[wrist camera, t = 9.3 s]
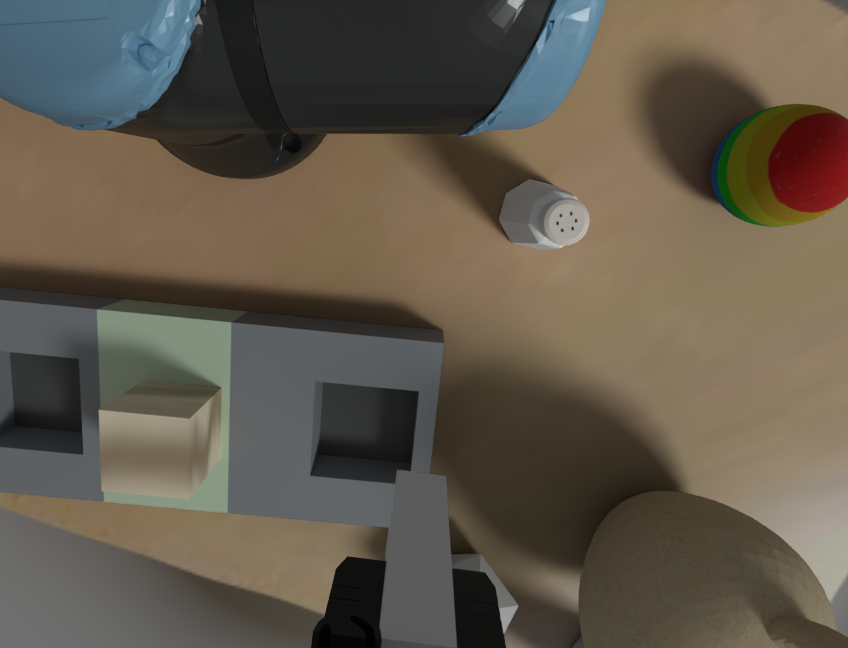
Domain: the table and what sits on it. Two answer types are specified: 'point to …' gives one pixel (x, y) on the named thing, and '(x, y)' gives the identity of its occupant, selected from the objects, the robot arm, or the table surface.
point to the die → (504, 597)
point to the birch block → (160, 439)
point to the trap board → (241, 401)
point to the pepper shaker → (543, 216)
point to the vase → (697, 581)
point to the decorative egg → (783, 165)
